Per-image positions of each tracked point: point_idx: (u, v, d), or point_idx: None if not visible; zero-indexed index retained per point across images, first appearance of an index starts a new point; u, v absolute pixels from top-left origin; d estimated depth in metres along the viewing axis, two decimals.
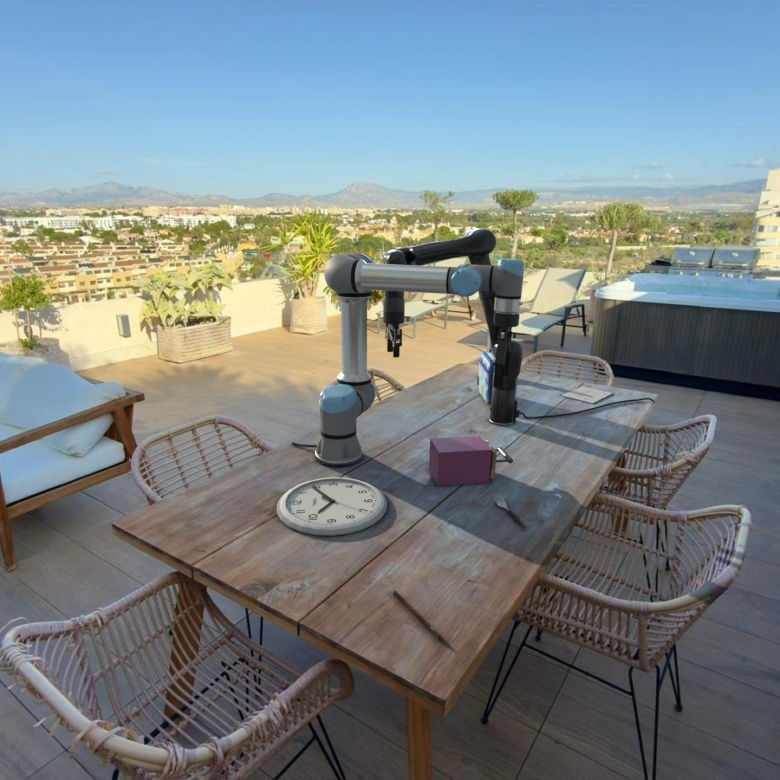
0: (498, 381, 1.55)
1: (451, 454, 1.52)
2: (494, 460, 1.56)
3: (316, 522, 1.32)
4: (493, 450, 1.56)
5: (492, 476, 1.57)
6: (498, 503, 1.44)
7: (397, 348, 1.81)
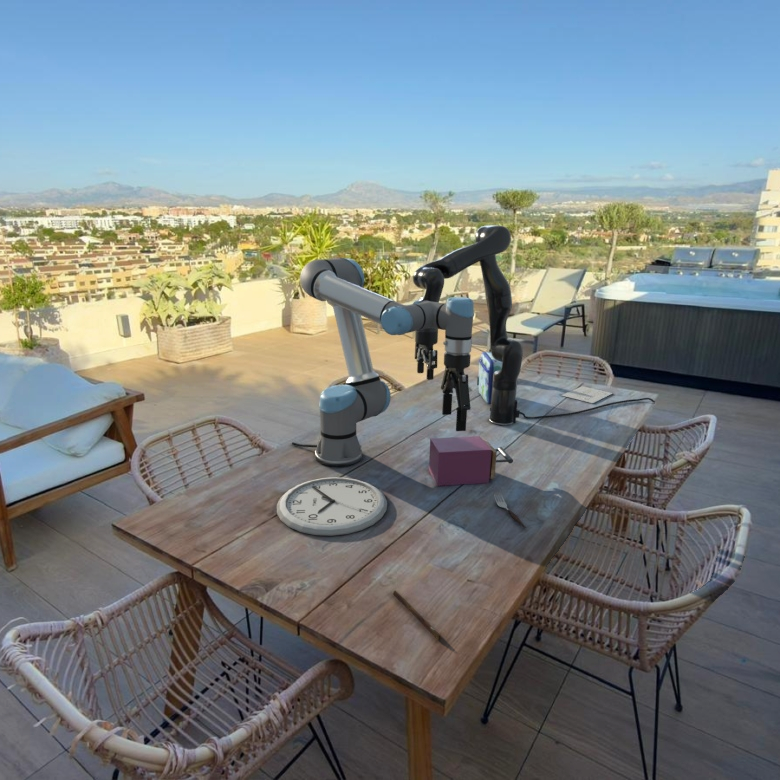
0: None
1: (451, 454, 1.52)
2: (494, 460, 1.56)
3: (316, 522, 1.32)
4: (493, 450, 1.56)
5: (492, 476, 1.57)
6: (498, 503, 1.44)
7: (431, 370, 1.72)
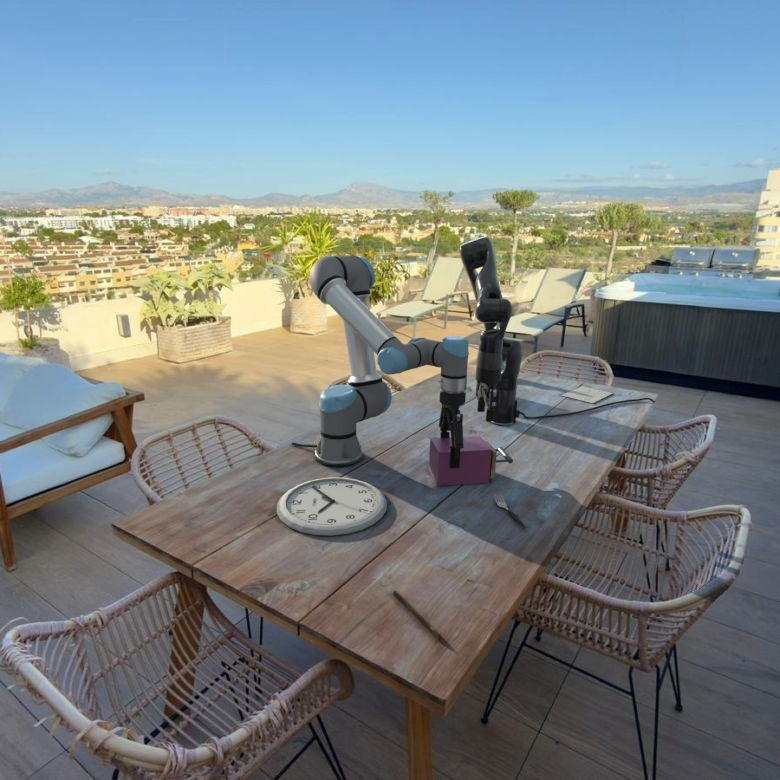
0: None
1: None
2: (494, 460, 1.56)
3: (316, 522, 1.32)
4: (493, 450, 1.56)
5: (492, 476, 1.57)
6: (498, 503, 1.44)
7: None
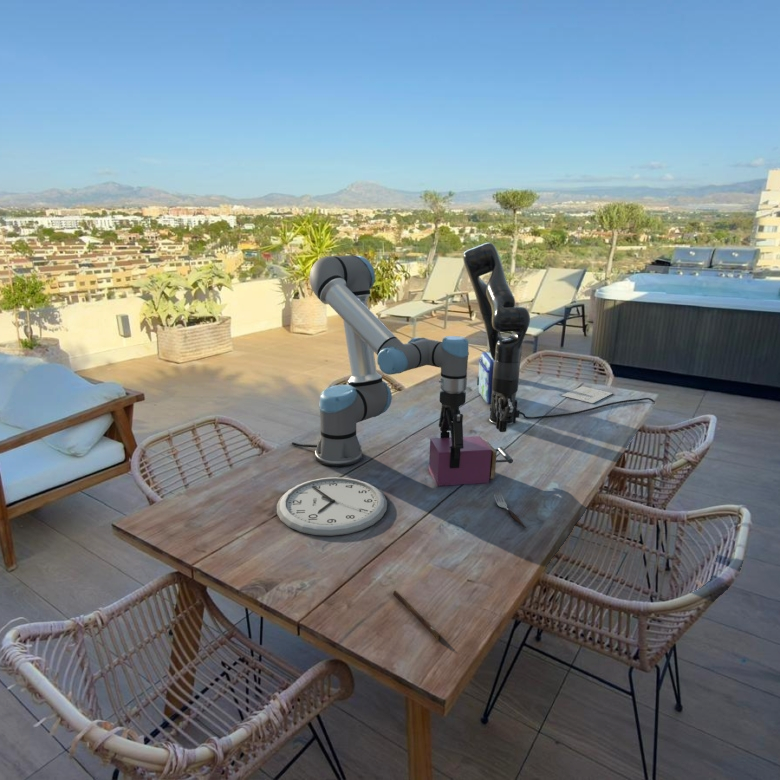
0: None
1: None
2: (494, 460, 1.56)
3: (316, 522, 1.32)
4: (493, 450, 1.56)
5: (492, 476, 1.57)
6: (498, 503, 1.44)
7: None
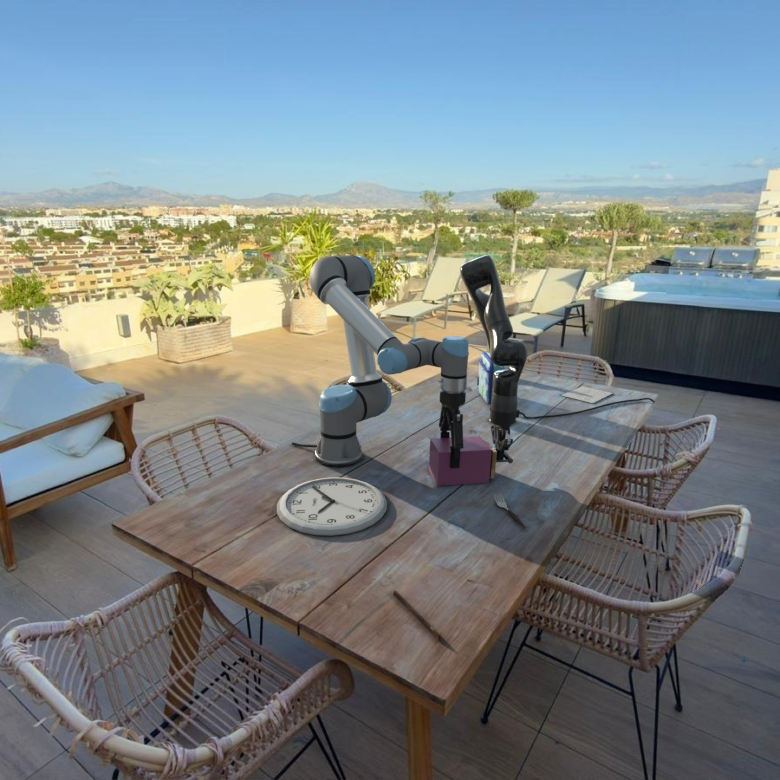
0: None
1: None
2: (494, 460, 1.56)
3: (316, 522, 1.32)
4: (493, 450, 1.56)
5: (492, 476, 1.57)
6: (498, 503, 1.44)
7: None
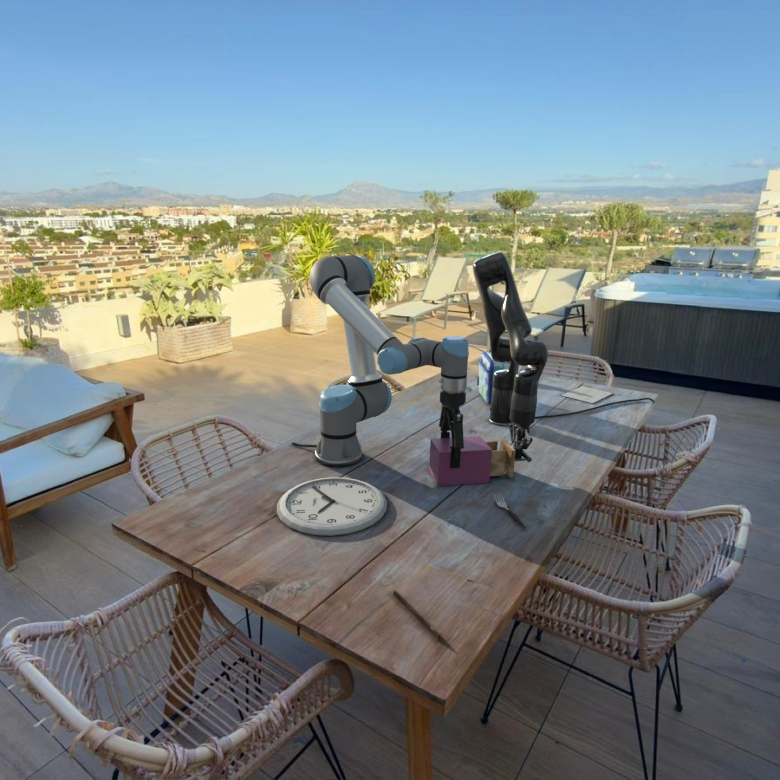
0: None
1: None
2: (513, 459, 1.57)
3: (316, 522, 1.32)
4: (512, 449, 1.57)
5: (511, 475, 1.58)
6: (498, 503, 1.44)
7: None
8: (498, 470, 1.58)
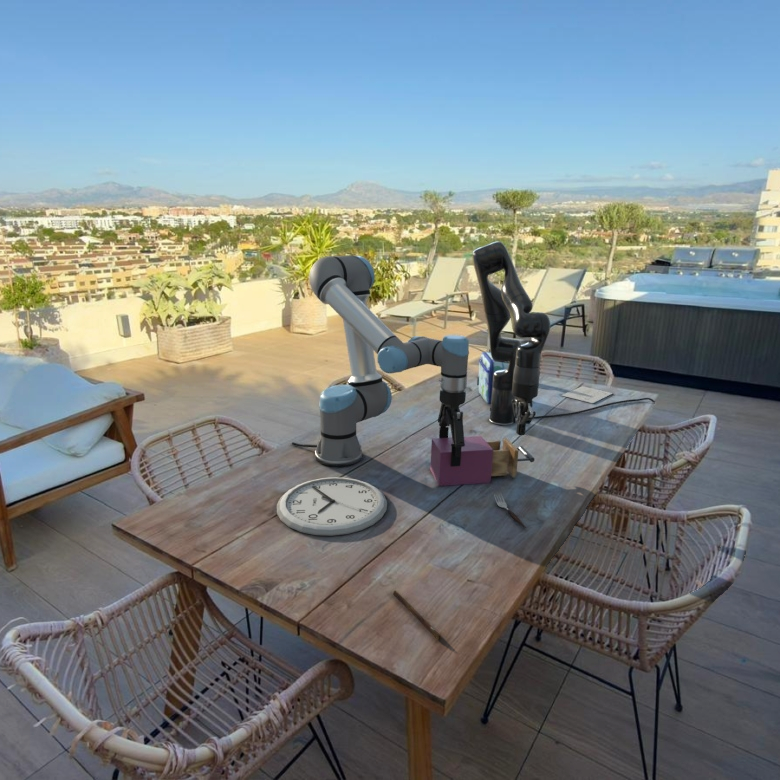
0: None
1: None
2: (516, 459, 1.57)
3: (316, 522, 1.32)
4: (515, 449, 1.57)
5: (514, 475, 1.58)
6: (498, 503, 1.44)
7: None
8: (501, 470, 1.58)
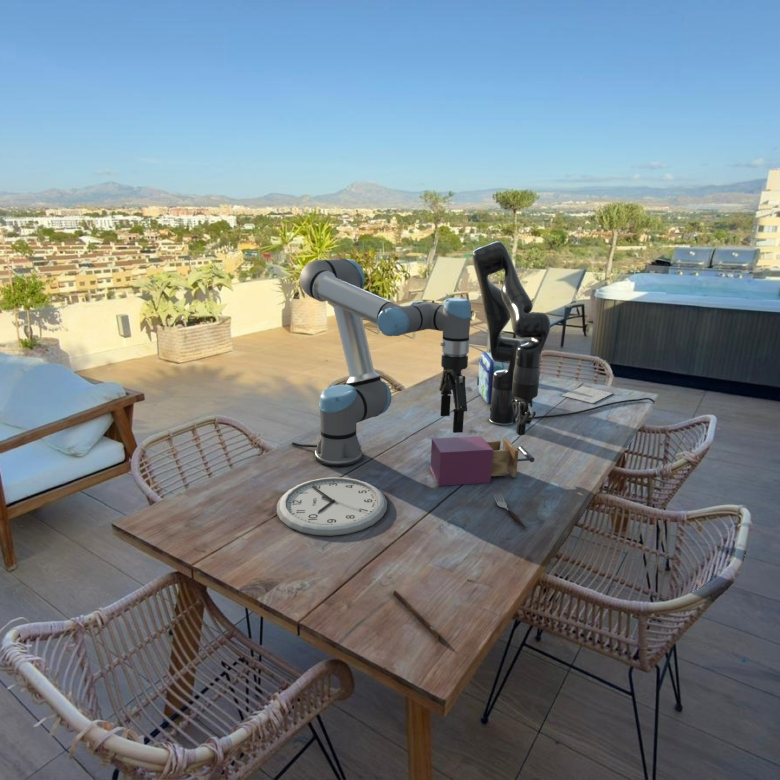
0: None
1: (453, 454, 1.52)
2: (516, 459, 1.57)
3: (316, 522, 1.32)
4: (515, 449, 1.57)
5: (514, 475, 1.58)
6: (498, 503, 1.44)
7: None
8: (501, 470, 1.58)
